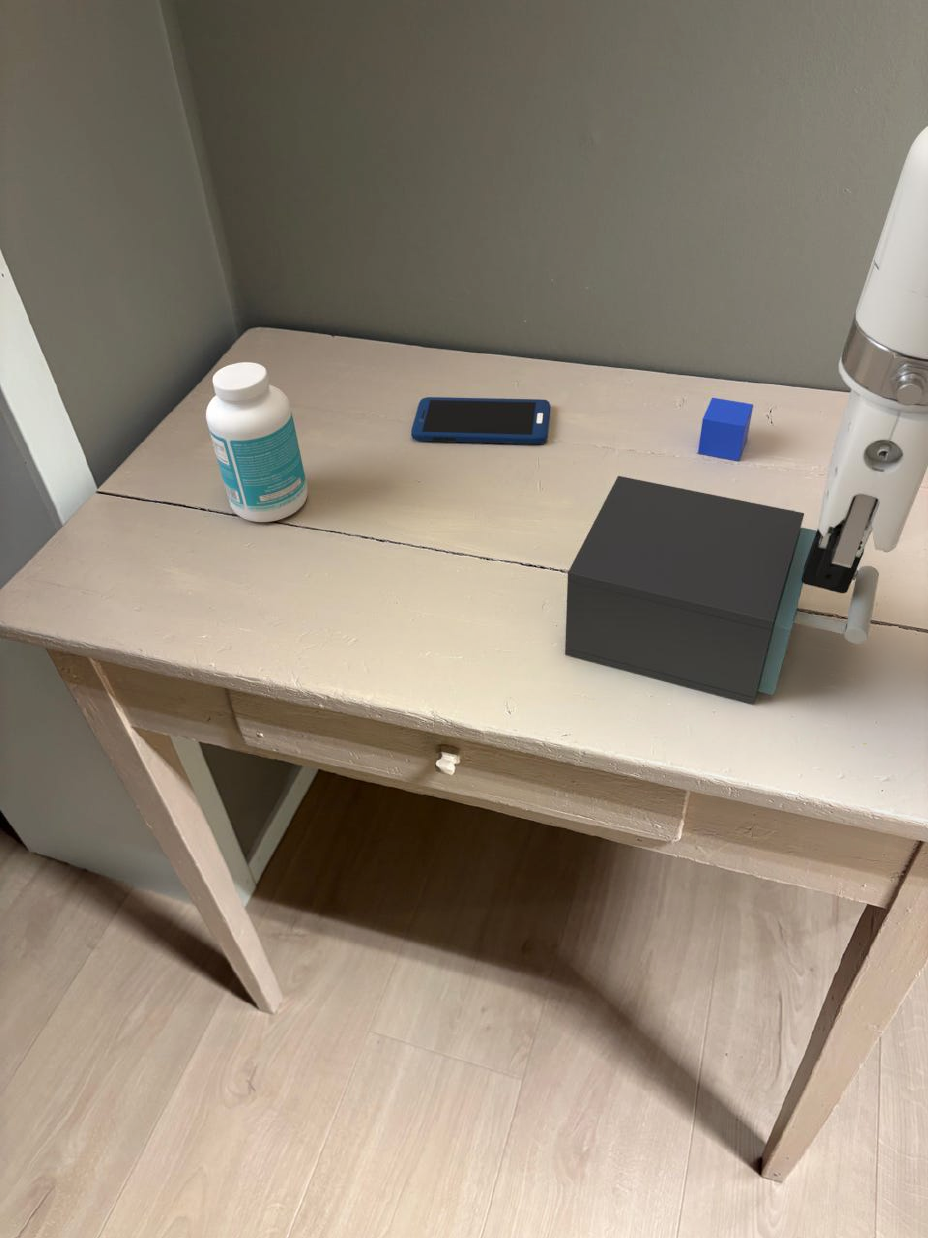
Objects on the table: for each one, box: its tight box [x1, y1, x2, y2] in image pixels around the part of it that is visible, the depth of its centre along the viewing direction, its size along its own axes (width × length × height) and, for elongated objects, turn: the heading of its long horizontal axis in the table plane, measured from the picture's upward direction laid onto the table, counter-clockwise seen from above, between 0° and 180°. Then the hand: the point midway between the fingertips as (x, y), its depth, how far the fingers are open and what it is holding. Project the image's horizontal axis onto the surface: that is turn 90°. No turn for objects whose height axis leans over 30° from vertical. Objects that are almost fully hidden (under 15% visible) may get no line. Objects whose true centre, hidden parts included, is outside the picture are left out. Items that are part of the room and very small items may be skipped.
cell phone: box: [410, 396, 552, 445], centre depth 99 cm, size 7×14×1 cm, turn 83°
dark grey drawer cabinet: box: [564, 475, 805, 705], centre depth 74 cm, size 15×13×9 cm
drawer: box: [757, 527, 880, 696], centre depth 73 cm, size 18×11×7 cm, turn 67°
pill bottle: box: [205, 361, 309, 523], centre depth 87 cm, size 8×7×14 cm
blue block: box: [697, 397, 754, 462], centre depth 93 cm, size 4×4×4 cm
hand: (824, 580), depth 69 cm, fingers closed
